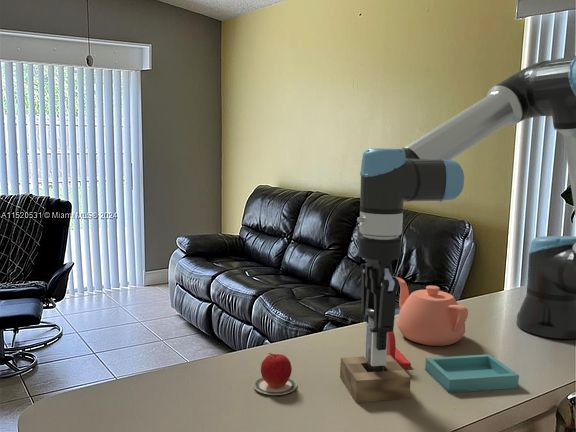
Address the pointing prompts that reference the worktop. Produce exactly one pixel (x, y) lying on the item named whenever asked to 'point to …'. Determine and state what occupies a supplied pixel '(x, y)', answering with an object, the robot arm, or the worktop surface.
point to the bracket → (396, 352)
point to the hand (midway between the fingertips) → (375, 360)
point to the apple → (275, 376)
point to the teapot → (430, 316)
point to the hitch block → (374, 380)
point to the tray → (471, 373)
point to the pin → (371, 325)
